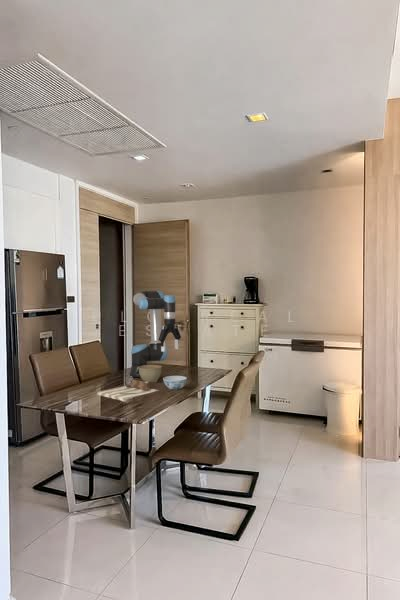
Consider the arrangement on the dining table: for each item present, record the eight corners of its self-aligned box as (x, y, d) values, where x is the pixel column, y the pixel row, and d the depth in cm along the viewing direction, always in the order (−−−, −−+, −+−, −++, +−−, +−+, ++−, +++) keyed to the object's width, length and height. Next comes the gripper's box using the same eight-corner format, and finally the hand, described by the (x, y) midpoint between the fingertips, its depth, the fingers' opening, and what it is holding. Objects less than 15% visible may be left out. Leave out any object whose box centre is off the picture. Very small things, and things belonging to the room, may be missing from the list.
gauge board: (96, 394, 252) (96, 392, 252) (130, 386, 273) (130, 384, 273) (126, 401, 235) (125, 398, 235) (159, 392, 256) (159, 390, 256)
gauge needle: (124, 386, 265) (124, 377, 265) (130, 384, 269) (130, 376, 269) (145, 390, 253) (145, 381, 253) (150, 389, 257) (150, 380, 257)
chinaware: (160, 392, 256) (160, 380, 256) (166, 387, 271) (165, 375, 271) (184, 393, 254) (184, 380, 254) (188, 387, 269) (188, 376, 269)
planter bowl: (166, 380, 291) (165, 365, 291) (154, 385, 276) (153, 369, 276) (146, 379, 297) (146, 364, 297) (134, 383, 283) (133, 367, 283)
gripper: (161, 319, 261) (161, 352, 261) (185, 317, 281) (186, 348, 281) (152, 319, 265) (153, 352, 265) (177, 317, 285) (177, 347, 285)
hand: (170, 350), depth 273 cm, fingers open, 13 cm apart
